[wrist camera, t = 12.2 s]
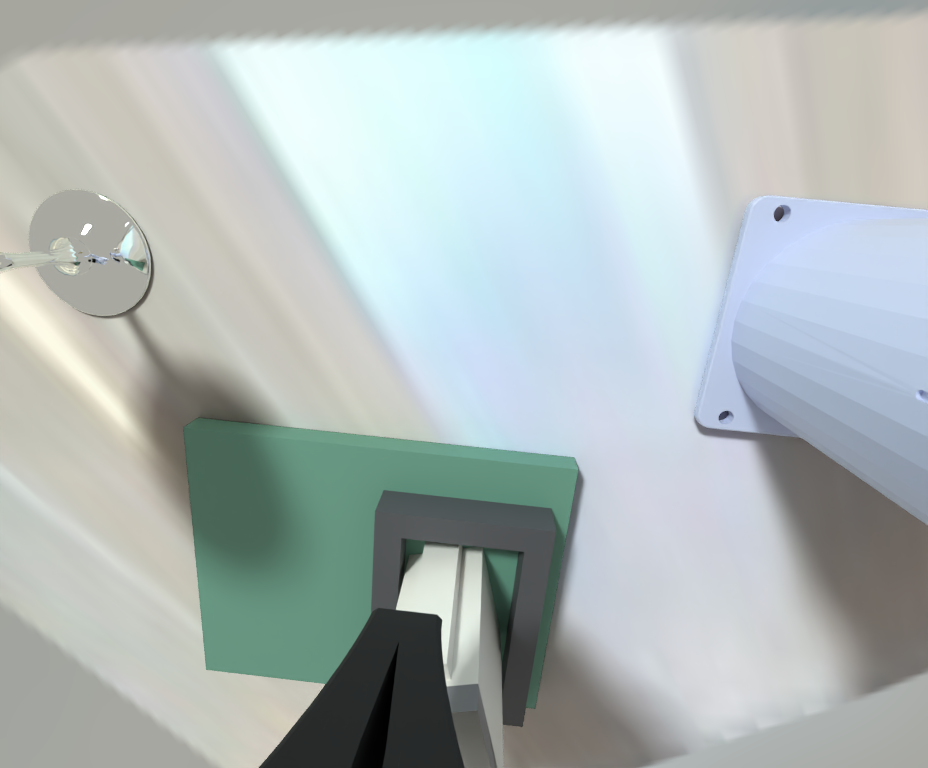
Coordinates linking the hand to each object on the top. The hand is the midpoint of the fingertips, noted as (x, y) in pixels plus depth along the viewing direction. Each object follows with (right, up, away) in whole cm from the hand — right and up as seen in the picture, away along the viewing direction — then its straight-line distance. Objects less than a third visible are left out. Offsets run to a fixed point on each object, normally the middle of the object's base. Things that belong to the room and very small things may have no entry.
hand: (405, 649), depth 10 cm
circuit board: (-2, -2, +11) cm, 12 cm away
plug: (+1, -3, +10) cm, 11 cm away
